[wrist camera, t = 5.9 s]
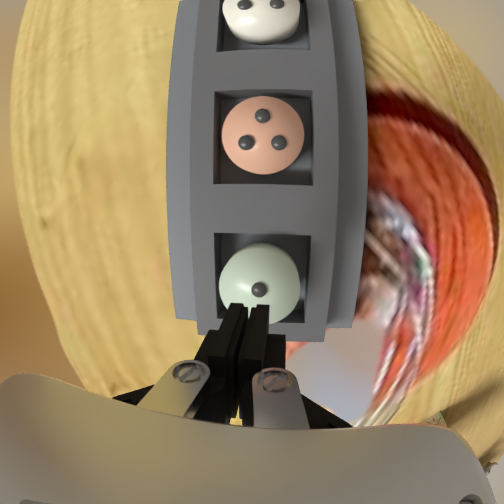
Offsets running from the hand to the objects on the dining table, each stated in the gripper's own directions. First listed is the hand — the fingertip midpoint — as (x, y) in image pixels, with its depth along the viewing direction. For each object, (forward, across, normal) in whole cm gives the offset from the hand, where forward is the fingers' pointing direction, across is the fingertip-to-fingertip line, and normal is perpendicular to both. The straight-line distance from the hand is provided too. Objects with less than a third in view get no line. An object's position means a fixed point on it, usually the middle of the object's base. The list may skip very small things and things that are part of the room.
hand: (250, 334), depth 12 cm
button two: (+7, 0, -18) cm, 19 cm away
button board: (+10, 0, -9) cm, 13 cm away
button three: (+8, 0, -9) cm, 12 cm away
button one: (+7, 0, 0) cm, 7 cm away
